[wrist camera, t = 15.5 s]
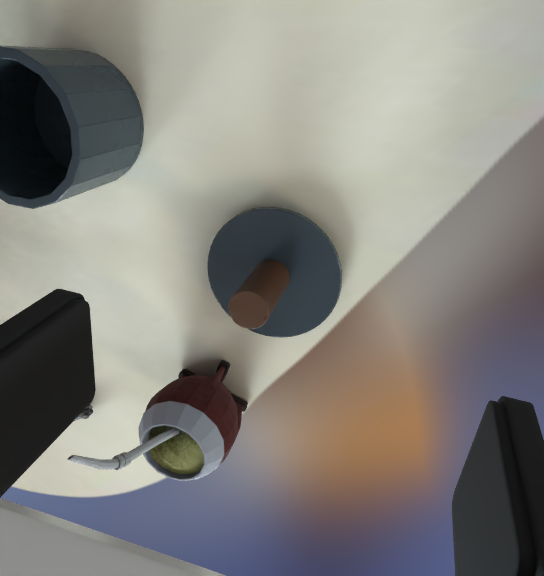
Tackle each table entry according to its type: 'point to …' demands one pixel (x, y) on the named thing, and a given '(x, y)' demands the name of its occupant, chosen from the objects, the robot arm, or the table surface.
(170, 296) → the table surface
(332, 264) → the lid
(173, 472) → the mate gourd
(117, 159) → the pot
